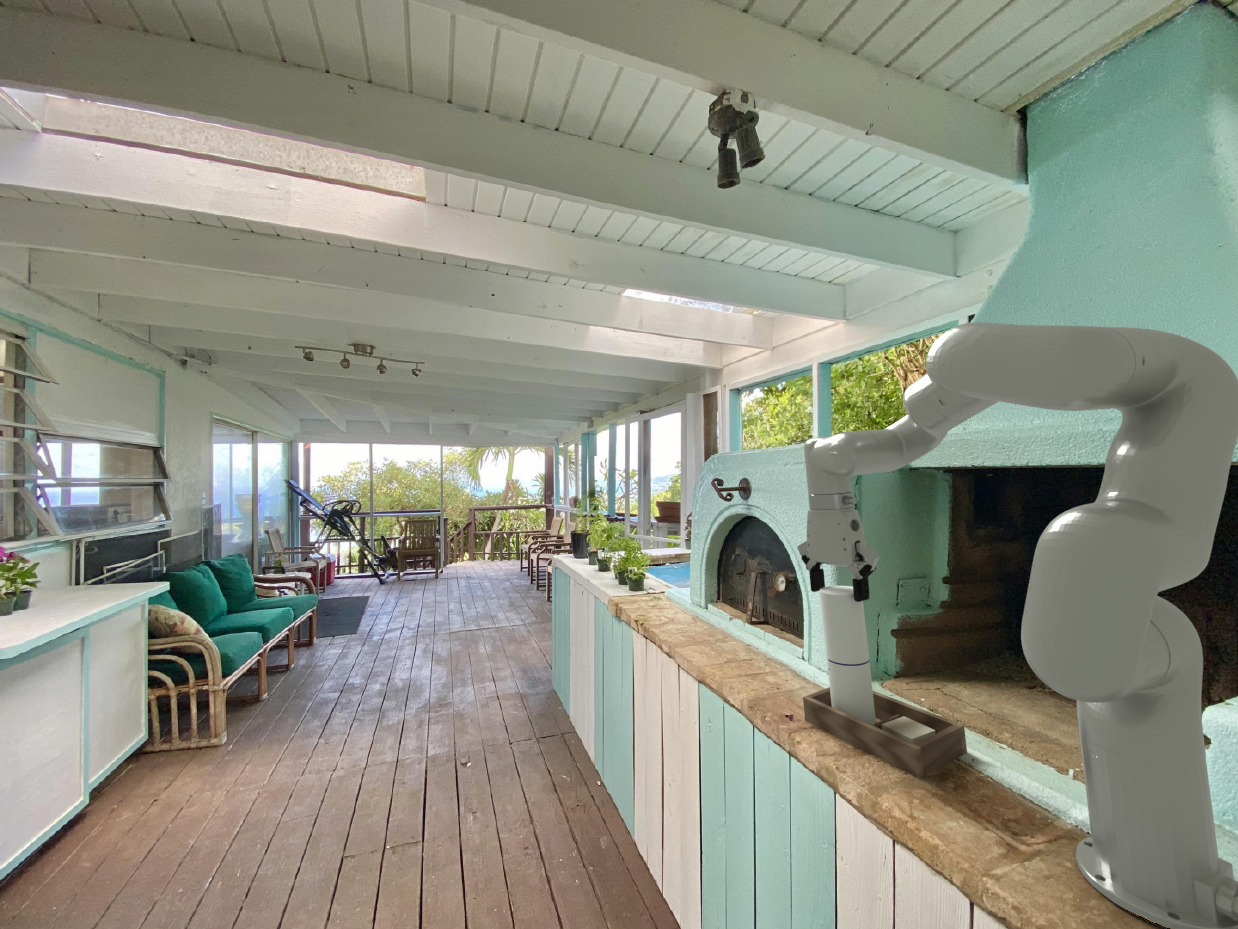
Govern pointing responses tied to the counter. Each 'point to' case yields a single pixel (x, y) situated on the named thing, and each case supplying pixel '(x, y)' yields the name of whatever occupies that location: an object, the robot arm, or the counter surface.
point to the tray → (884, 744)
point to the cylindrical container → (847, 653)
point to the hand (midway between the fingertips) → (839, 595)
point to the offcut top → (908, 729)
